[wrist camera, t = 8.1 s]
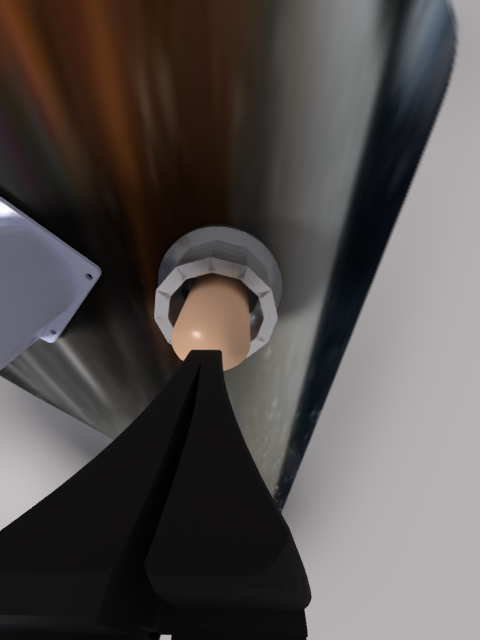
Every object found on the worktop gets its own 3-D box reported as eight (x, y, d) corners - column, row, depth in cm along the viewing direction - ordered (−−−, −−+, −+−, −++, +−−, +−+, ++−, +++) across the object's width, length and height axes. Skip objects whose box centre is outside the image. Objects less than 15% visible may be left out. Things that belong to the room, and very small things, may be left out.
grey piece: (225, 349, 21) (221, 388, 17) (139, 286, 17) (110, 318, 14) (304, 286, 17) (322, 317, 13) (216, 191, 14) (206, 198, 10)
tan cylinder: (223, 323, 18) (215, 381, 13) (182, 292, 16) (155, 344, 11) (259, 290, 16) (266, 342, 11) (217, 252, 15) (205, 293, 10)
